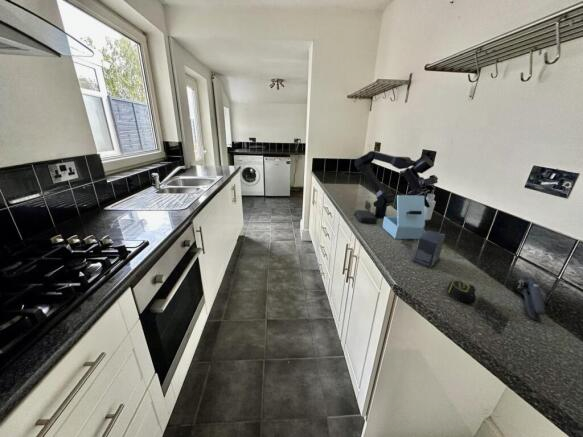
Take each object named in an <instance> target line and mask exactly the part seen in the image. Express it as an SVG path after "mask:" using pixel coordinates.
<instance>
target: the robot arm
mask: <svg viewBox="0 0 583 437" xmlns="http://www.w3.org/2000/svg"><path fill="white" fill-rule="evenodd" d="M374 160H375V161H379V162H383V163H387V164H389V165H391V166H393V167H394V168H396V169H398V170H400V171H399V174H398V177H404V178H405V180H406V181H407V186H408V187H410V188H411V189H412V190H410V191H408V192H406V195H409V196H424V206H426V207H427V208H428V207H430V205H429V203H428V201H427V199H426V198H427V194H433V192H434V191H435V189H436V188H437V186H435V185H436V184H438V183H439V182H438V180H439V178H438V176H437V175H435V174H432V175H429V177H427V178H424V177H423V176H420V174H424V173H425V172H427V171H429V170H430V169H432V168H433V167H434V165H435V164H434V162H433V160H432V159H430V158H429V157H428V156H427V155H426V154H423V155H422V156H420V157H419V158H418V159H417V160H413V159H412V157H409V156H398V155H397V156H396V155H391V154H387V153H383V152H379V151H377V150H371V151H368V152H367V153H365V154H363V155H361V156H360V157H357V158H356V159H355V160H354V163H353V164H354V167H355V168H356V169H357V171H359V172H361V173H362V174H363V175H364V177H365V178H366V179H367V181H368V183H369V184H370V186H371V188H372V189H373V190H374V192H375V196H376V197H375V198H376V199H377V200H375V201H374V202H372V204H373V207H375V209H374V213H373V212H372V213H373V214H374V216H375V217H376V219H384V217H387V215H386V214H387V208H388V207H390V206H391V204H393V203H394V201H395V197H394V193H393V192H392V191H391V189H386V188H384V186H383V185H382V183H381V181H380V180H379V179H378V177H377V175H376V174H375V172H374V171H373V170H372V162H373V161H374Z"/></svg>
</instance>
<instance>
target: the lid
mask: <svg viewBox="0 0 583 437" xmlns="http://www.w3.org/2000/svg"><path fill="white" fill-rule="evenodd" d="M396 204H397V205H396V215H397V216H396V217H397V226H407V227H424V228H425V227H426V220H425V208H424V196H409V195H407V194H406V195H405V194H402V195H400V194H397V195H396Z"/></svg>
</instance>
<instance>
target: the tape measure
mask: <svg viewBox="0 0 583 437" xmlns="http://www.w3.org/2000/svg"><path fill="white" fill-rule="evenodd" d="M447 292H448V294H449V295H450V296H451V297H452V298H453V299H455V300H457V301H460V302H464V303H468V304H473V305H474V303H475V302H476V299H477V296H476V288H475V285H472V284H468V283H466V282H464V281H461V280H452V281H450V282H449V283H448V286H447Z"/></svg>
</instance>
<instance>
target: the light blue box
mask: <svg viewBox="0 0 583 437" xmlns="http://www.w3.org/2000/svg"><path fill="white" fill-rule="evenodd" d="M382 228H383V229H384V230H385V231H386V232H387V233H388V234H389V235H390V236H392V237H393V239H395V240H419V238H420V237H421V236H422V235H423V234H424V228H425V227H407V226H397V216H386V217H384V218H383V222H382Z"/></svg>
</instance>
